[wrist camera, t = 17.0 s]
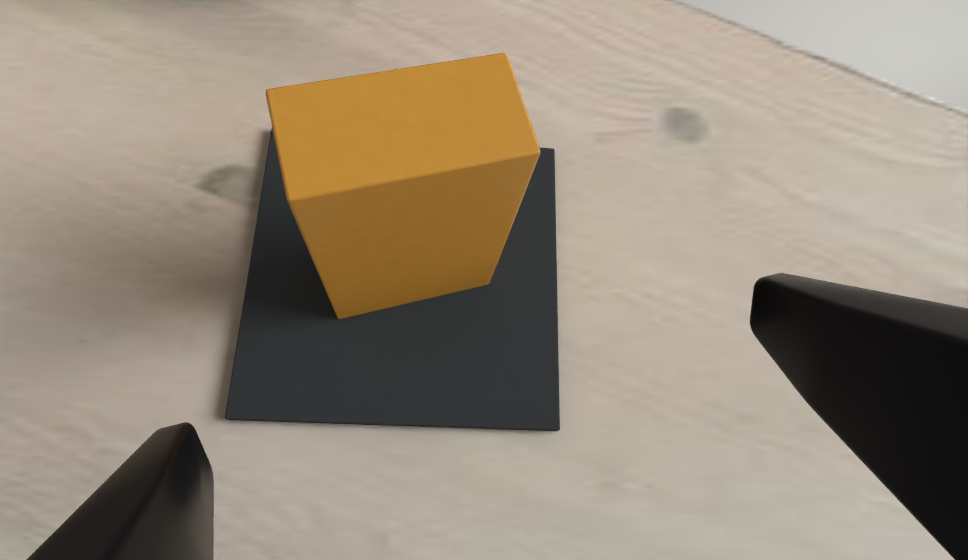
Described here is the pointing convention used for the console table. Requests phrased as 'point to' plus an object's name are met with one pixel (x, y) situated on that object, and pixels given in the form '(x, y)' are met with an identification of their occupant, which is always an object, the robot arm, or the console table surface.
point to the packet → (405, 177)
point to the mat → (401, 334)
